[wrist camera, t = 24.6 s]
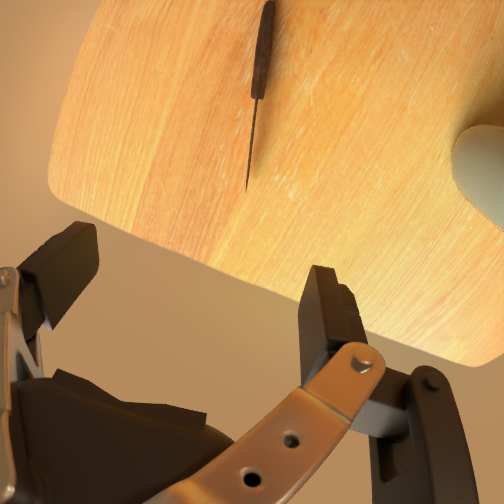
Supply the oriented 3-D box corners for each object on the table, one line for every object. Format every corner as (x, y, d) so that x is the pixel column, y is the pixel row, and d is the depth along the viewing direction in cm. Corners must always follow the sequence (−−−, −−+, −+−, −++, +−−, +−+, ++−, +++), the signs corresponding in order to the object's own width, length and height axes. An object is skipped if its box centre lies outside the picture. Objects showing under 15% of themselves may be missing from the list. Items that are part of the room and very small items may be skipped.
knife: (253, 190, 26) (251, 198, 24) (240, 189, 26) (237, 196, 24) (277, 2, 18) (277, -5, 16) (263, 1, 18) (262, -7, 16)
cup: (434, 194, 24) (492, 246, 15) (442, 110, 20) (514, 129, 12) (493, 200, 23) (553, 248, 15) (504, 126, 19) (574, 152, 11)
